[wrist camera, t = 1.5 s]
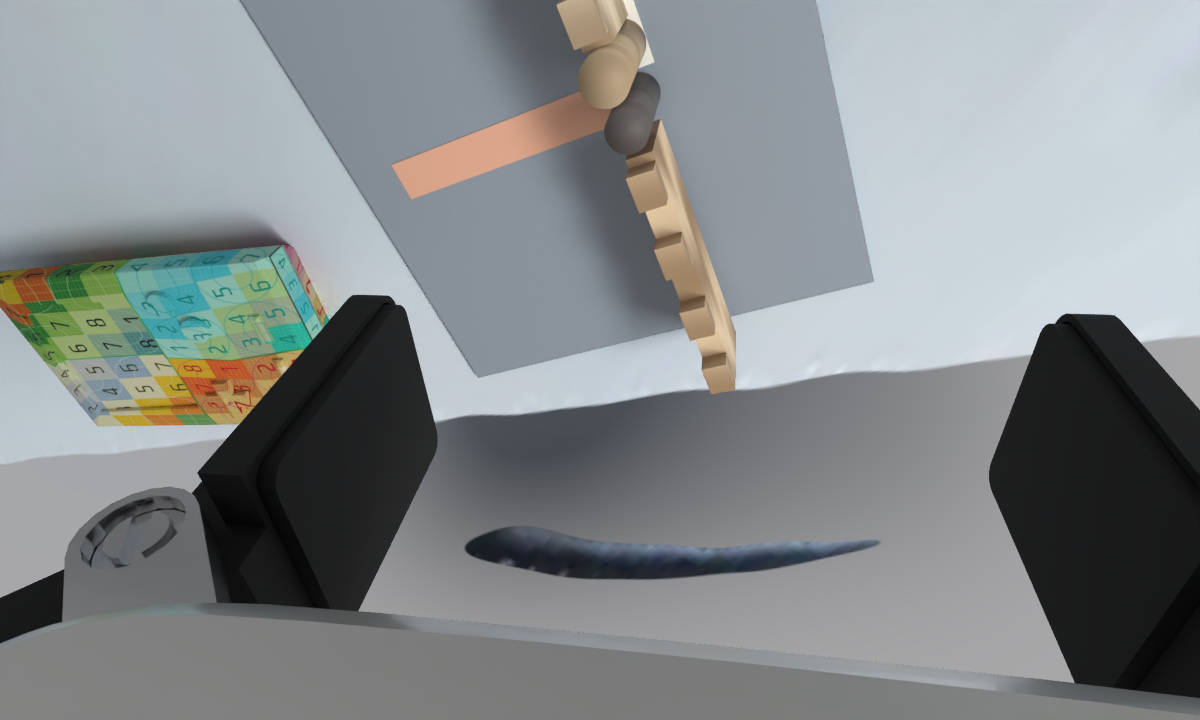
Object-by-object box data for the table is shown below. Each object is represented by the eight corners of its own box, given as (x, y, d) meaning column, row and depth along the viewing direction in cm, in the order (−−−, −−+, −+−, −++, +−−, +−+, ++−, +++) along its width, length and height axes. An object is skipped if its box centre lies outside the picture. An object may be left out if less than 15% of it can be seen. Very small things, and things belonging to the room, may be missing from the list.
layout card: (685, -630, 19) (684, -636, 19) (873, 278, 35) (874, 282, 35) (118, -203, 28) (112, -203, 27) (479, 374, 44) (477, 378, 43)
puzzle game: (347, 430, 42) (88, 435, 47) (377, 382, 46) (135, 391, 51) (260, 265, 36) (-34, 290, 40) (304, 224, 39) (31, 251, 44)
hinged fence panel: (615, 80, 31) (595, 123, 26) (652, 66, 30) (638, 107, 26) (709, 331, 38) (706, 397, 34) (741, 323, 38) (741, 389, 33)
